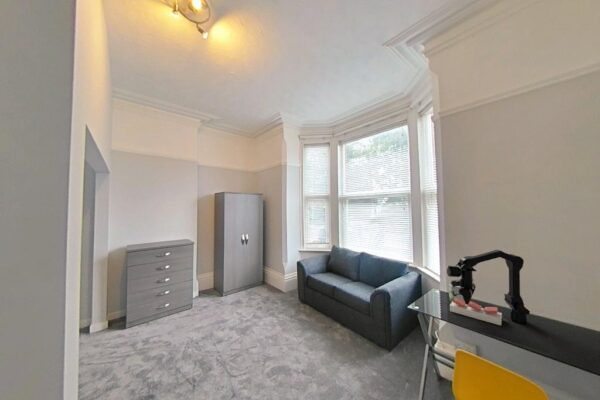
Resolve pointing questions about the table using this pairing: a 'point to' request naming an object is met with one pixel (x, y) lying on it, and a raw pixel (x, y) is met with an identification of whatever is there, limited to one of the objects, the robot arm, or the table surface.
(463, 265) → the robot arm
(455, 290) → the ink box
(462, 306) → the rocker
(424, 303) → the table surface
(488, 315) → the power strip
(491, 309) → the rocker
